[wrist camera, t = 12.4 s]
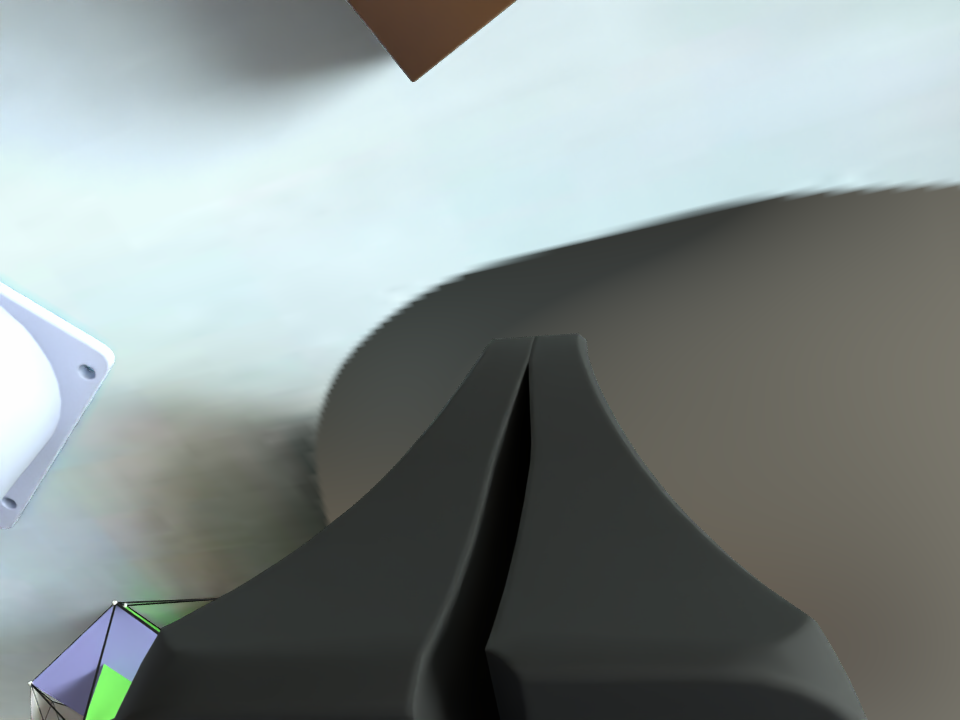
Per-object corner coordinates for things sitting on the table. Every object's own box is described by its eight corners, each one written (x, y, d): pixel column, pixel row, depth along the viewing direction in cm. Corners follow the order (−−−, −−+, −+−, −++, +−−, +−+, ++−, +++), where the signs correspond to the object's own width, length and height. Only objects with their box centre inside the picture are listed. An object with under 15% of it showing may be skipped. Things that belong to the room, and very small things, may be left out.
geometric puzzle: (177, 552, 28) (-15, 793, 25) (335, 668, 30) (179, 901, 27) (132, 531, 34) (-26, 722, 31) (267, 630, 36) (133, 816, 33)
